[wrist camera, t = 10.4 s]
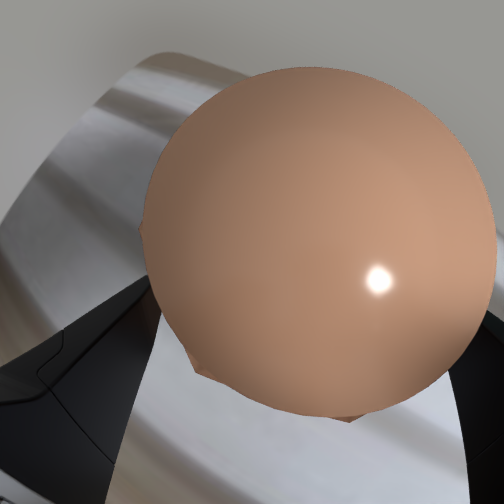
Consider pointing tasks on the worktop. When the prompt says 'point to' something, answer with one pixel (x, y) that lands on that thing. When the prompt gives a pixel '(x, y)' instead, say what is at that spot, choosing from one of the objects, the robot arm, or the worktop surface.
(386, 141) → the tan rounded cylinder
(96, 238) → the worktop surface
